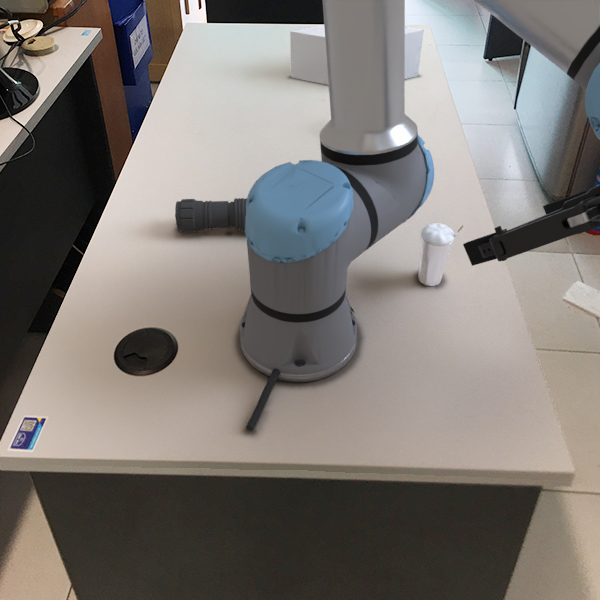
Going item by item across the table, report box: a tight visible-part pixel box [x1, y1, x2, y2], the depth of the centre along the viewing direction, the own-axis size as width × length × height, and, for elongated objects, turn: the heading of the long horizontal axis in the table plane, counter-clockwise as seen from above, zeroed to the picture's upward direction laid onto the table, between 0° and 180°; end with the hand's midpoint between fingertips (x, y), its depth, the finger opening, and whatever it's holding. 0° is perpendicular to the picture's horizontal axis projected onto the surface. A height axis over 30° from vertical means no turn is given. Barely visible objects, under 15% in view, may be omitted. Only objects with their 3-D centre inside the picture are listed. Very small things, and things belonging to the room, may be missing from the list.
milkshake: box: [417, 222, 464, 287], centre depth 88 cm, size 4×5×10 cm
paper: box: [289, 24, 424, 86], centre depth 140 cm, size 14×29×10 cm, turn 92°
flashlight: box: [174, 197, 247, 234], centre depth 99 cm, size 15×5×5 cm, turn 93°
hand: (510, 234), depth 75 cm, fingers open, 13 cm apart
